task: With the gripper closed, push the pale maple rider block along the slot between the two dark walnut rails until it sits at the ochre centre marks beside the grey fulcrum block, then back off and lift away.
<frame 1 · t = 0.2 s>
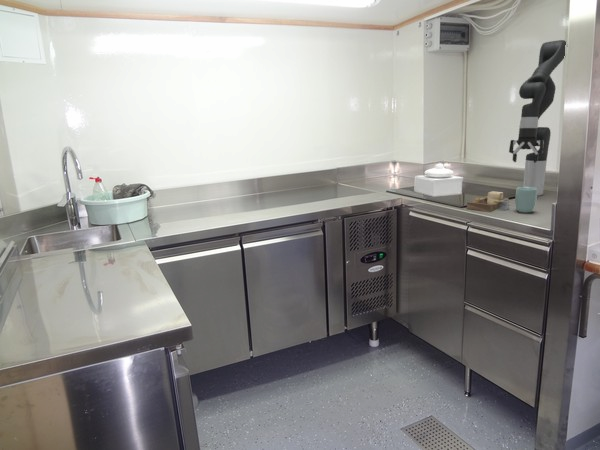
hand: (524, 162, 203), 18 cm above the worktop, tool pointing down, fingers open, 8 cm apart
fulcrum block: (503, 209, 186), on the worktop
rider: (495, 198, 197), point 3 cm above the worktop, slide at 0.0 cm
butter dish: (437, 193, 230), on the worktop
beam rails: (488, 206, 193), on the worktop
cup: (524, 212, 180), on the worktop
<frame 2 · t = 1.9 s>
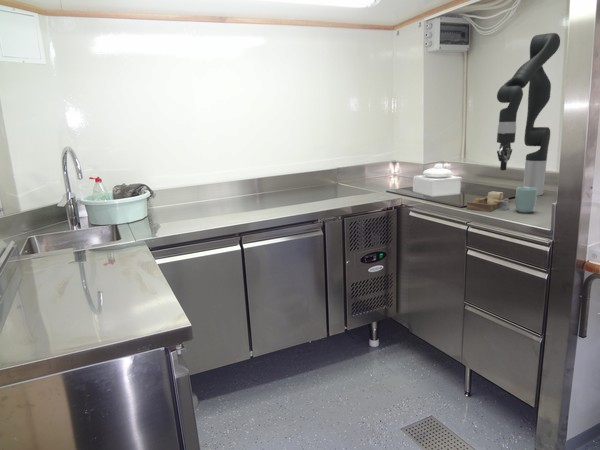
hand: (503, 170, 199), 15 cm above the worktop, tool pointing down, fingers closed
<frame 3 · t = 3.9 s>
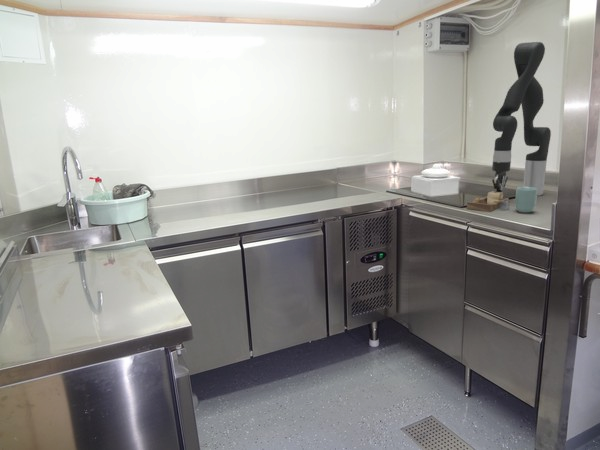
hand: (498, 197, 201), 2 cm above the worktop, tool pointing down, fingers closed
rider: (494, 198, 197), point 3 cm above the worktop, slide at 0.2 cm, touching gripper
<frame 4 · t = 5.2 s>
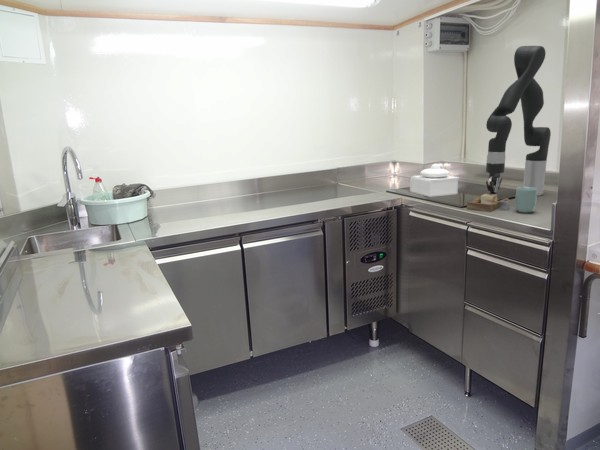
hand: (492, 200, 196), 2 cm above the worktop, tool pointing down, fingers closed
rider: (488, 200, 192), point 3 cm above the worktop, slide at 7.4 cm, touching gripper
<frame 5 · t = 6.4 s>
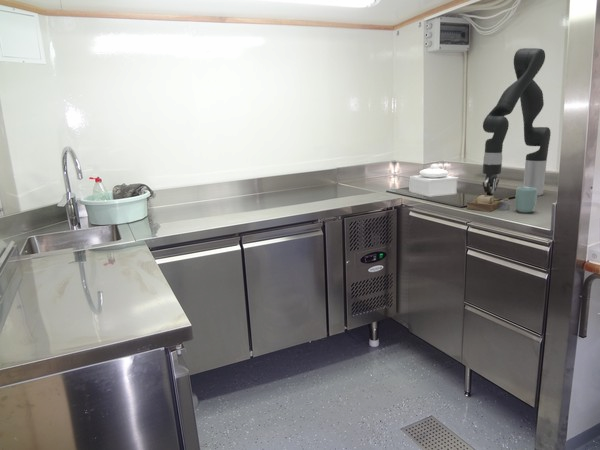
hand: (489, 201, 193), 2 cm above the worktop, tool pointing down, fingers closed
rider: (485, 201, 190), point 3 cm above the worktop, slide at 11.3 cm, touching gripper
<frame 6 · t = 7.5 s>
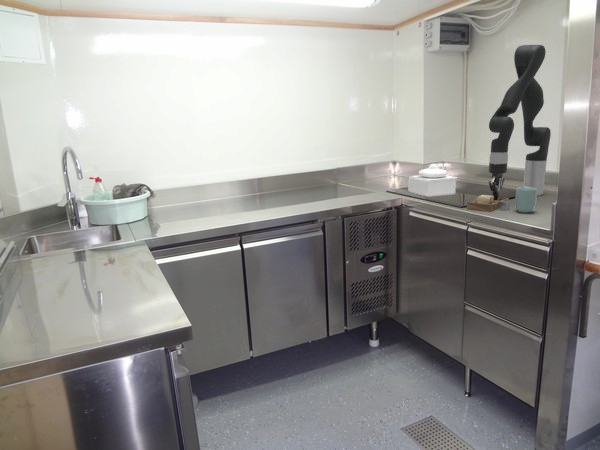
hand: (495, 199, 198), 2 cm above the worktop, tool pointing down, fingers closed
rider: (485, 201, 190), point 3 cm above the worktop, slide at 11.3 cm
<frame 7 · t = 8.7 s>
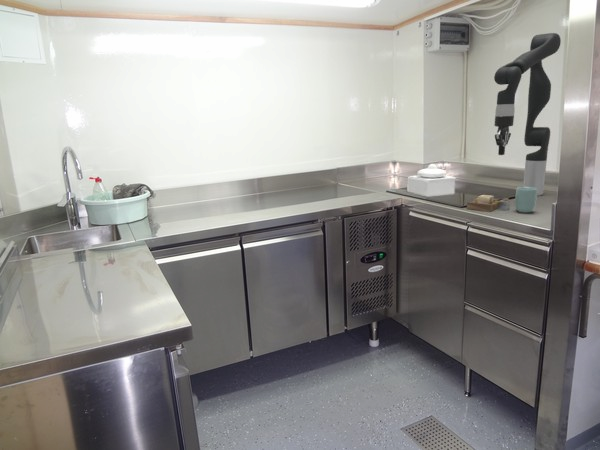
hand: (501, 154, 193), 22 cm above the worktop, tool pointing down, fingers closed
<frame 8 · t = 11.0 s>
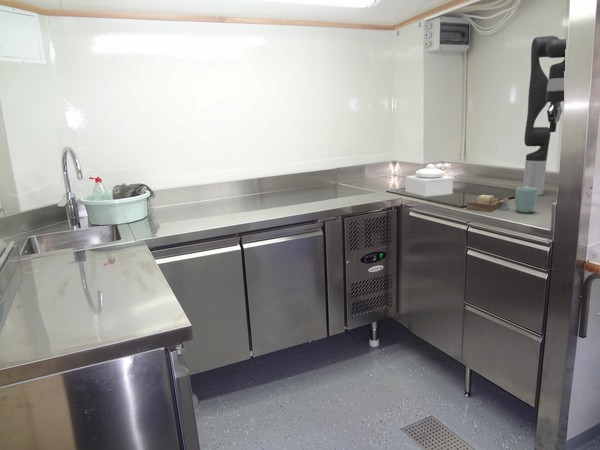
hand: (552, 132, 185), 32 cm above the worktop, tool pointing down, fingers closed
at the end: rider slide at 11.3 cm; rider moved 11.3 cm from its start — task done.
